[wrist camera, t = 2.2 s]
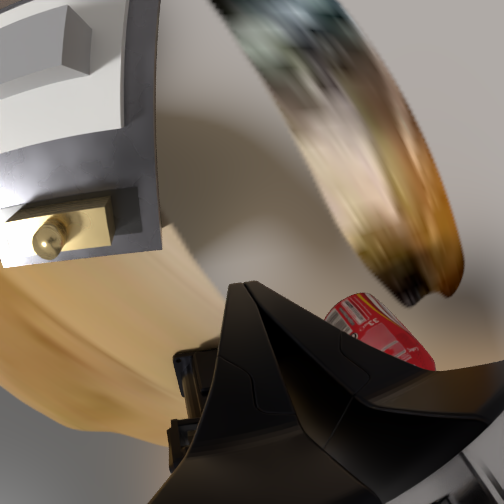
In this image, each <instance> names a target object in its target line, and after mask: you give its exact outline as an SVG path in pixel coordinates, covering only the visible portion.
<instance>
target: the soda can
mask: <svg viewBox="0 0 504 504" xmlns="http://www.w3.org/2000/svg"><path fill="white" fill-rule="evenodd" d="M324 320H325V321H326V322H328V323H330V324H332V325H333V326H335V327H337V328H339V329H340V330H341V331H344V332H346V333H348V334H349V335H351V336H353V337H355V338H357V339H359V340H360V341H362V342H364V343H366V344H368V345H370V346H372V347H374V348H377V349H379V350H381V351H383V352H385V353H388V354H390V355H392V356H394V357H397V358H399V359H401V360H404V361H406V362H408V363H411V364H413V365H415V366H418V367H420V368H423V369H427V370H432V371H436V368H435V363H434V360H433V358H432V357H431V356H430V355H429V354H428V352H427V351H426V350H425V348H424V347H423V346H422V345H421V344H420V343H419V342H418V341H417V339H416V338H415V337H414V336H413V335H412V334H411V333H410V332H409V331H408V330H407V328H406V327H405V326H404V325H403V324H402V323H401V322H400V321H399V320H398V319H397V318H396V317H395V316H394V315H393V314H392V313H391V312H390V311H389V310H388V309H387V308H386V307H385V306H384V305H383V304H382V303H381V302H380V301H379V300H377V299H376V298H375V297H373V296H372V295H371V294H368V293H357V294H354V295H351V296H349V297H347V298H345V299H343V300H341V301H340V302H338V303H337V304H336V305H335V306H334V307H333V308H332V309H331V310H330V312H329V313H328V314H327V316H326V317H325V319H324Z"/></svg>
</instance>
